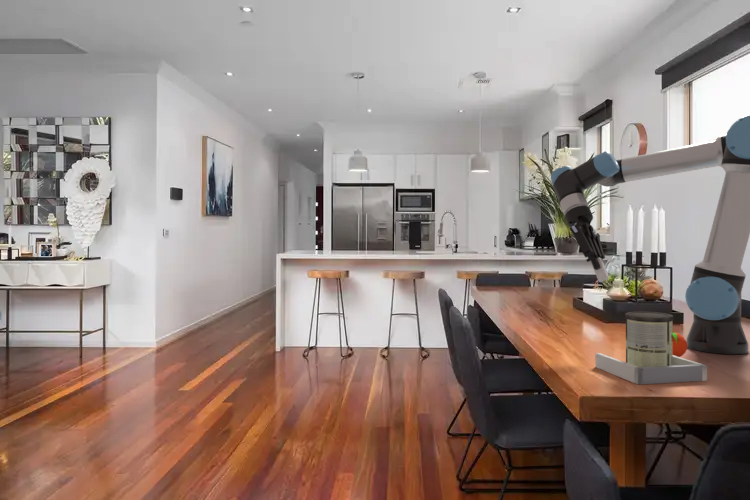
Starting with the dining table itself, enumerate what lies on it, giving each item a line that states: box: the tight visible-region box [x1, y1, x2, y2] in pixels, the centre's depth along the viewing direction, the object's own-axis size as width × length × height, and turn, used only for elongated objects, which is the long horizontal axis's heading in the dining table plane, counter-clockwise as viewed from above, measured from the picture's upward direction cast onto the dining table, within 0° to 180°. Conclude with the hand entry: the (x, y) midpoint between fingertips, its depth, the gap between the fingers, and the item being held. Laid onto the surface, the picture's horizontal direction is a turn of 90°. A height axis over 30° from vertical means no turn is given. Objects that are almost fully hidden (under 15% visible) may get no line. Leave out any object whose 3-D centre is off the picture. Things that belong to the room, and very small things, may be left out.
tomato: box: [672, 331, 688, 358], centre depth 141 cm, size 8×7×7 cm
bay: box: [594, 352, 708, 385], centre depth 125 cm, size 16×17×4 cm
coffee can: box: [624, 310, 674, 367], centre depth 126 cm, size 10×10×14 cm
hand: (604, 279), depth 148 cm, fingers closed
